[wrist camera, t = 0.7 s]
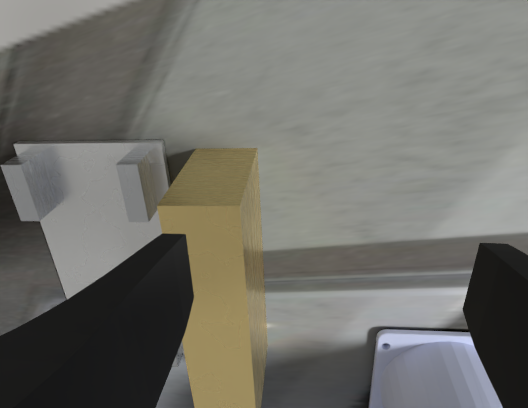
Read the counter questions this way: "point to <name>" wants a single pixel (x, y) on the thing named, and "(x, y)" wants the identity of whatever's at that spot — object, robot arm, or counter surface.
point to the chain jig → (90, 202)
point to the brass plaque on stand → (222, 275)
